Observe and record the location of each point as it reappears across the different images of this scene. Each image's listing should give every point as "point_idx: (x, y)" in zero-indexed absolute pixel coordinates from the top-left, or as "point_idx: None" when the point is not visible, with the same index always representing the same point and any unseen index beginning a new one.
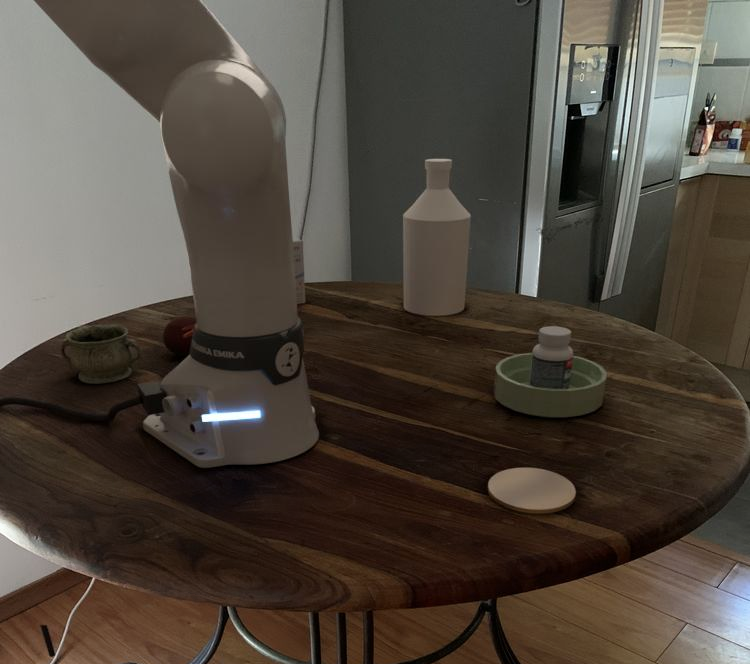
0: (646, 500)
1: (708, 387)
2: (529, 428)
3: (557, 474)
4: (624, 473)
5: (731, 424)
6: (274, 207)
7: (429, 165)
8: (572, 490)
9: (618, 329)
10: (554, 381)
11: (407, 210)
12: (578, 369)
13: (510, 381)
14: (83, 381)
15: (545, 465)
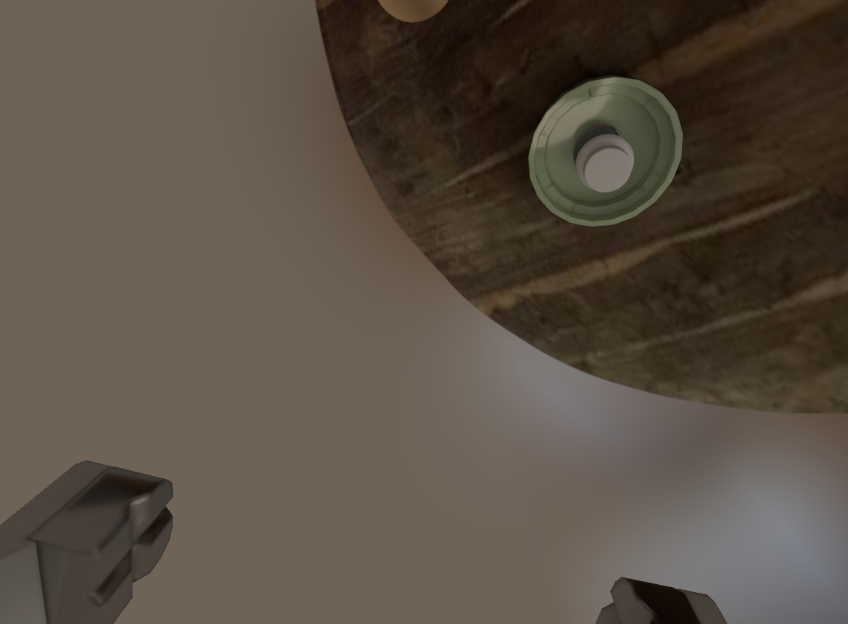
0: (360, 78)
1: (521, 320)
2: (541, 70)
3: (424, 17)
4: (408, 97)
5: (446, 268)
6: None
7: None
8: (391, 10)
9: (720, 386)
10: (578, 144)
11: None
12: (609, 214)
13: (603, 79)
14: None
15: (455, 25)
